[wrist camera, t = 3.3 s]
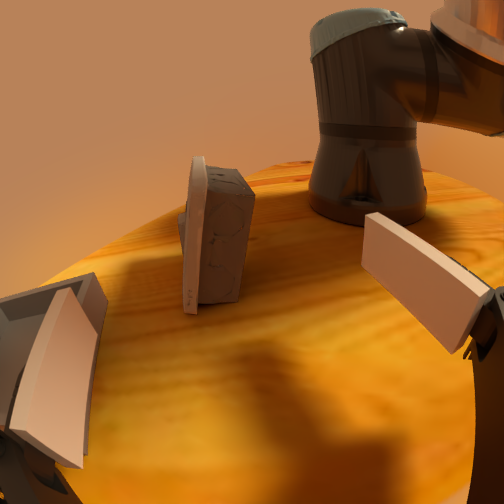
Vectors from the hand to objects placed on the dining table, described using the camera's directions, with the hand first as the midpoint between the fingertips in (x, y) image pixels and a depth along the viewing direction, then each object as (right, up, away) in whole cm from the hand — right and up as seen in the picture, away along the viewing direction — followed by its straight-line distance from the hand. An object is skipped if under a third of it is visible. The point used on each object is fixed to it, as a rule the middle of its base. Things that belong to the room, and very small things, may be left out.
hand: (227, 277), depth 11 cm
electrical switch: (-2, -1, +11) cm, 12 cm away
